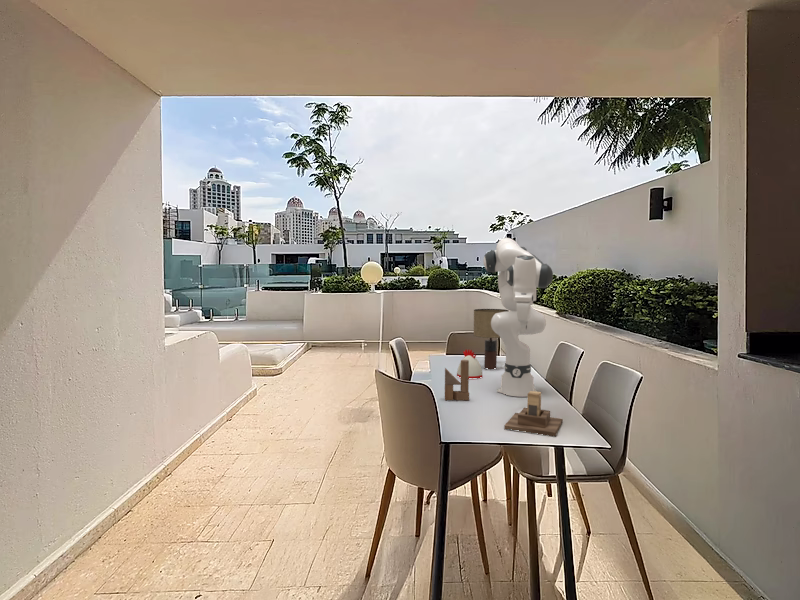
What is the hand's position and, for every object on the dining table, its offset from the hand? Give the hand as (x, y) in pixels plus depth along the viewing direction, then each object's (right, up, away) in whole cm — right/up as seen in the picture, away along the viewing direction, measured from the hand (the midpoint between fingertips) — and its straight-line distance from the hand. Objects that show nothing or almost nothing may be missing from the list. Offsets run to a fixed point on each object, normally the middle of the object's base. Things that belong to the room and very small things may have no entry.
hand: (524, 330), depth 195 cm
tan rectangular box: (+1, -33, -12) cm, 35 cm away
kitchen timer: (-11, -30, +74) cm, 81 cm away
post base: (+1, -35, -12) cm, 37 cm away
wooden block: (-24, -33, +26) cm, 48 cm away
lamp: (+4, -29, +95) cm, 100 cm away
